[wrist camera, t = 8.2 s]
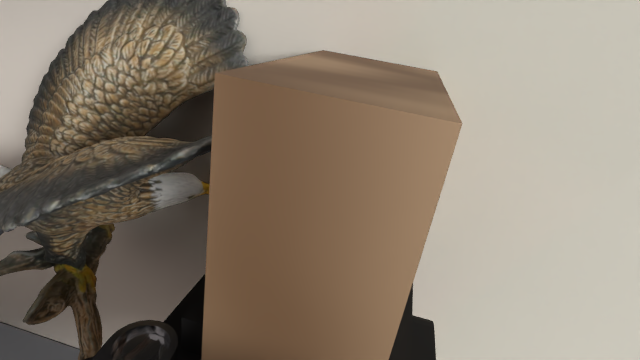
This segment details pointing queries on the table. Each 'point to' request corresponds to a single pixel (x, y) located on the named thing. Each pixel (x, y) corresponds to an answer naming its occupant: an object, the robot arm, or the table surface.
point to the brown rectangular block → (320, 204)
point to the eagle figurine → (110, 141)
